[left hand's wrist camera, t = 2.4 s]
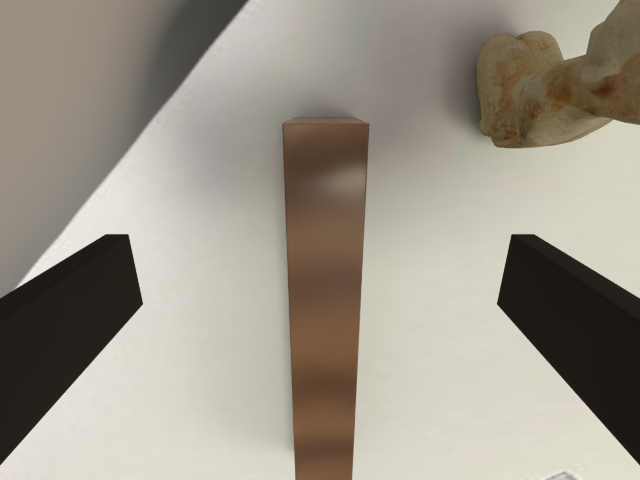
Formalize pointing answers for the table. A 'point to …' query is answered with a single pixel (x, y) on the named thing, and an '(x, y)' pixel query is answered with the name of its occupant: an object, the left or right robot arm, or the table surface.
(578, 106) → the sculpture
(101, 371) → the table surface
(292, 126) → the bar
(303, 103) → the table surface
